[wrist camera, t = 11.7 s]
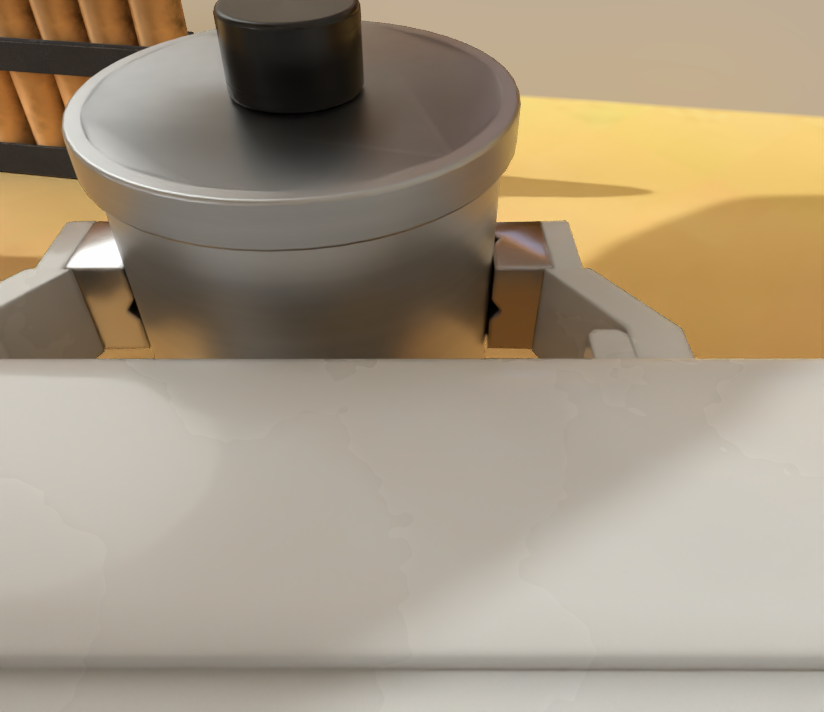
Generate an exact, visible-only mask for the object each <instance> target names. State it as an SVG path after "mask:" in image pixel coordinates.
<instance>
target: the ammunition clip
mask: <svg viewBox="0 0 824 712" xmlns="http://www.w3.org/2000/svg"><path fill="white" fill-rule="evenodd" d="M191 34H194V33H193V32H187V27H186V23H185V18H184V13H183V9H182V4H181V0H0V171H4V172H14V173H25V174H35V175H46V176H56V177H66V178H77V176H76V173H75V170H74V167H73V165H72V162H71V159H70V156H69V153H68V151H67V148H66V145H65V142H64V138H63V135H62V131H61V130H62V117H63V113H64V110H65V108H66V105H67V103H68V101H69V100H70V99H71V97H72V96H73V95H74V93H75V92H76V90H78V89H79V88H80V87H81V86H82V85H83V84H84V83H85V82H86V81H87V80H88V79H90V78H91V77H93V76H94V75H95V74H97V73H98V72H100V71H101V70H102V69H104V68H106V67H108V66H110V65H111V64H113V63H115V62H117V61H119V60H120V59H123V58H125V57H127V56H129V55H132V54H134V53H136V52H138V51H141V50H143V49H146V48H149V47H151V46H154V45H157V44H160V43H163V42H166V41H169V40H173V39H176V38H179V37H183V36H187V35H191ZM77 179H78V178H77Z"/></svg>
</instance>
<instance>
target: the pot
mask: <svg viewBox="0 0 824 712" xmlns="http://www.w3.org/2000/svg"><path fill="white" fill-rule="evenodd" d="M213 14H214V20H215V24H216V29H214V30H209V31H203V32H199V33H195V34H191V35H187V36H183V37H179V38H176V39H173V40H169V41H166V42H163V43H160V44H157V45H154V46H151V47H149V48H146V49H143V50H141V51H138V52H136V53H134V54H132V55H129V56H127V57H125V58H123V59H120V60H119V61H117V62H115V63H113V64H111V65H110V66H108V67H106V68H104V69H102V70H101V71H100V72H98V73H97V74H95V75H94V76H93V77H91V78H90V79H88V80H87V81H86V82H85V83H84V84H83V85H82V86H81V87H80V88H79V89H78V90H76V92H75V93H74V95H73V96H72V97H71V99H70V100H69V101H68V103H67V105H66V108H65V110H64V113H63V117H62V130H61V131H62V135H63V138H64V142H65V145H66V148H67V151H68V153H69V156H70V159H71V162H72V165H73V167H74V170H75V173H76V176H77V178H78V181H79V183H80V185H81V186H82V188H83V189H84V191H85V193H86V194H87V196H88V197H89V198H90V199H91V200H93V201H94V202H95V203H96V204H97V205H98V206H99V207H100V208H101V209H102V210H103V211H105V213H106V215H107V218H108V221H109V224H110V227H111V230H112V233H113V236H114V239H115V242H116V245H117V248H118V251H119V253H120V256H121V259H122V262H123V265H124V268H125V271H126V274H127V277H128V280H129V283H130V286H131V289H132V292H133V294H134V297H135V300H136V303H137V306H138V309H139V312H140V315H141V318H142V321H143V324H144V327H145V330H146V333H147V335H148V338H149V341H150V344H151V347H152V350H153V353H154V356H155V359H484V353H485V342H486V327H487V315H488V305H489V297H490V281H491V271H492V260H493V252H494V241H495V229H496V218H497V207H498V196H499V185H500V177H501V176H502V174H503V173H504V172H505V171H506V169H507V167H508V165H509V163H510V161H511V160H512V158H513V156H514V153H515V148H516V143H517V135H518V125H519V116H520V106H521V103H520V94H519V90H518V88H517V86H516V83H515V81H514V79H513V78H512V76H511V75H510V74H509V72H508V71H507V70H506V69H505V67H503V66H502V65H501V64H500V63H499V62H497V61H496V60H495V59H494V58H492V57H490V56H489V55H487V54H486V53H484V52H483V51H481V50H479V49H477V48H475V47H472V46H470V45H468V44H466V43H463V42H461V41H458V40H456V39H453V38H450V37H447V36H444V35H440V34H436V33H433V32H430V31H426V30H421V29H416V28H411V27H407V26H400V25H394V24H387V23H380V22H370V21H361V11H360V3H359V1H358V0H218V1H217V2H216V4H215V6H214V11H213Z"/></svg>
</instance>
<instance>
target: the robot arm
mask: <svg viewBox="0 0 824 712" xmlns="http://www.w3.org/2000/svg"><path fill="white" fill-rule="evenodd" d="M486 339H487V346H488V348H514V349H532V351H533V352H534V353H535V354H536V355H537V356H538V357H539V358H540V359H96V358H97V357H98V356H99V355H101V354H102V353H103V352H104V351H105V350H104V349H128V348H150V346H151V344H150V341H149V338H148V335H147V333H146V330H145V327H144V324H143V321H142V318H141V315H140V312H139V309H138V306H137V303H136V300H135V297H134V294H133V292H132V289H131V286H130V283H129V280H128V277H127V274H126V271H125V268H124V265H123V262H122V259H121V256H120V253H119V251H118V248H117V245H116V242H115V239H114V236H113V233H112V230H111V227H110V224H109V222H103V221H99V222H96V221H73V222H68V223H66V224H65V226H64V227H63V229H62V230H61V232H60V233H59V234H58V236H57V237H56V239H55V240H54V242H53V243H52V244H51V246H50V247H49V249H48V250H47V252H46V253H45V255H44V256H43V257H42V259H41V260H40V262H39V263H38V265H37V266H36V267H35V269H25V270H23V271H21V272H19V273H17V274H15V275H13V276H11V277H9V278H7V279H5V280H3V281H1V282H0V712H824V358H817V359H695V358H694V355H693V353H692V351H691V348H690V346H689V344H688V342H687V339H686V337H685V335H684V332H683V330H682V328H681V327H679V326H677V325H676V324H674V323H673V322H671V321H670V320H668V319H667V318H665V317H664V316H662V315H661V314H659V313H658V312H656V311H655V310H653V309H652V308H650V307H648V306H647V305H645V304H644V303H642V302H641V301H639V300H638V299H636V298H635V297H633V296H632V295H630V294H629V293H627V292H626V291H624V290H623V289H621V288H619V287H618V286H616V285H615V284H613V283H612V282H610V281H609V280H607V279H606V278H604V277H603V276H601V275H600V274H598V273H597V272H595V271H594V270H592V269H587V268H583V266H582V263H581V260H580V257H579V254H578V251H577V247H576V244H575V241H574V238H573V235H572V232H571V228H570V225H569V223H568V222H567V221H566V220H563V221H536V222H497V223H496V229H495V241H494V252H493V260H492V271H491V281H490V297H489V305H488V315H487V327H486Z"/></svg>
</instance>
